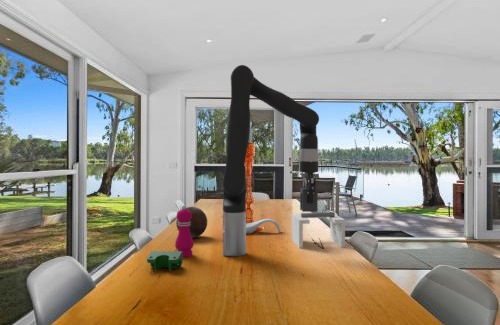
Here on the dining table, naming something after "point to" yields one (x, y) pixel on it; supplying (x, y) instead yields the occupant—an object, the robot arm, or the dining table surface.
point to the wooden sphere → (196, 222)
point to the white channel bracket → (335, 221)
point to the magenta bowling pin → (184, 233)
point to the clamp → (165, 259)
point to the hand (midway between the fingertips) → (308, 202)
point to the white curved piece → (253, 226)
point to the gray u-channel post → (303, 201)
